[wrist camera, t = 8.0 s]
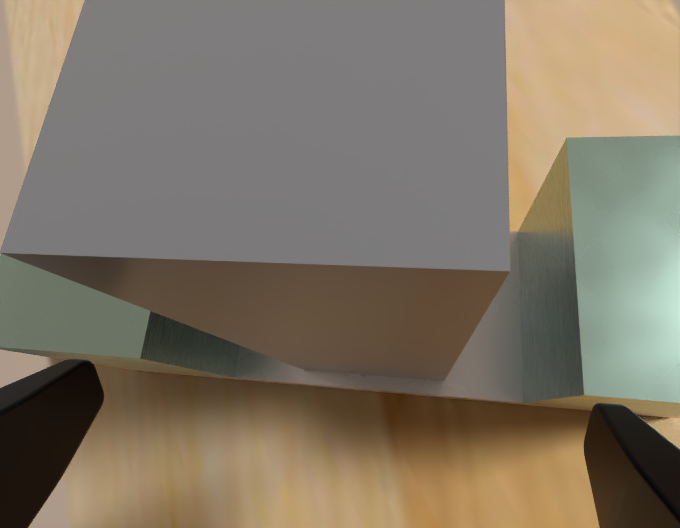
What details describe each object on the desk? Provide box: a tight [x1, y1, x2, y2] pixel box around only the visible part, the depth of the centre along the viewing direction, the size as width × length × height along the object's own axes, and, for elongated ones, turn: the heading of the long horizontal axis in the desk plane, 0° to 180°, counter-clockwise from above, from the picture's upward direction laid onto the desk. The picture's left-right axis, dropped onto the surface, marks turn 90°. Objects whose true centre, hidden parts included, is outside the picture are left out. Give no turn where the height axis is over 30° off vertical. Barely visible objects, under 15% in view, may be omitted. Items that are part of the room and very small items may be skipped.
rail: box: [0, 136, 680, 418], centre depth 15 cm, size 6×20×8 cm, turn 85°
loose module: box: [0, 0, 510, 381], centre depth 11 cm, size 5×5×12 cm
